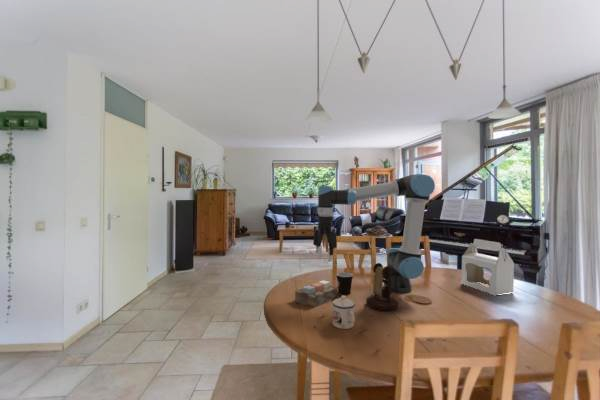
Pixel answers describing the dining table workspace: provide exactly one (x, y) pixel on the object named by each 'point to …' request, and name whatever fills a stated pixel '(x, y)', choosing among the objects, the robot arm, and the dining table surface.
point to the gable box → (499, 266)
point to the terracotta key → (317, 286)
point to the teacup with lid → (343, 313)
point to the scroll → (382, 289)
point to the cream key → (325, 284)
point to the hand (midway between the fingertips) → (324, 260)
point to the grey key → (309, 289)
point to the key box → (316, 296)
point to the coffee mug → (344, 283)
